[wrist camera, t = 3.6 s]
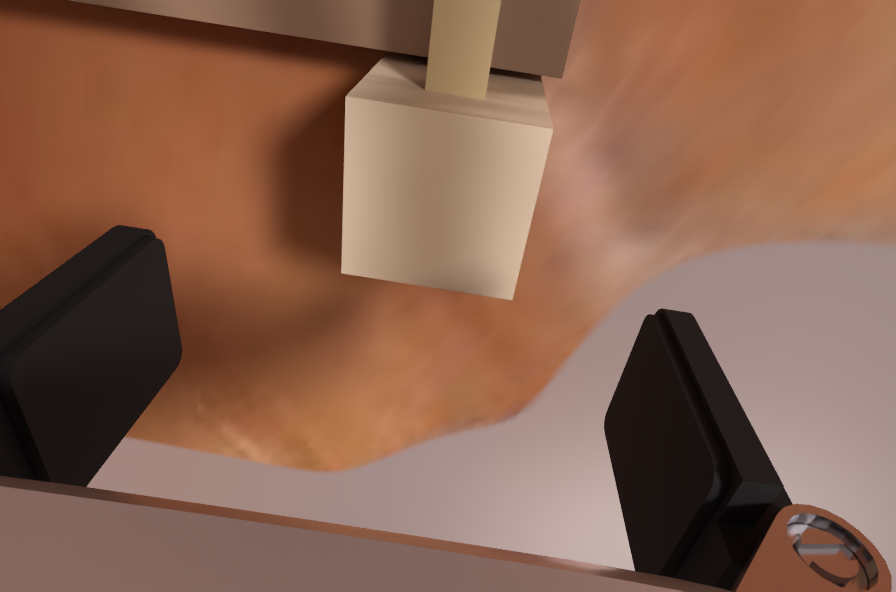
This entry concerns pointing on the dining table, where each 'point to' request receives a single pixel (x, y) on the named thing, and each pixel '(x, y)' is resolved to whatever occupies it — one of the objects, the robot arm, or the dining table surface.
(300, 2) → the board
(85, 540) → the robot arm
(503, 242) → the mallet
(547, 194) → the dining table surface
